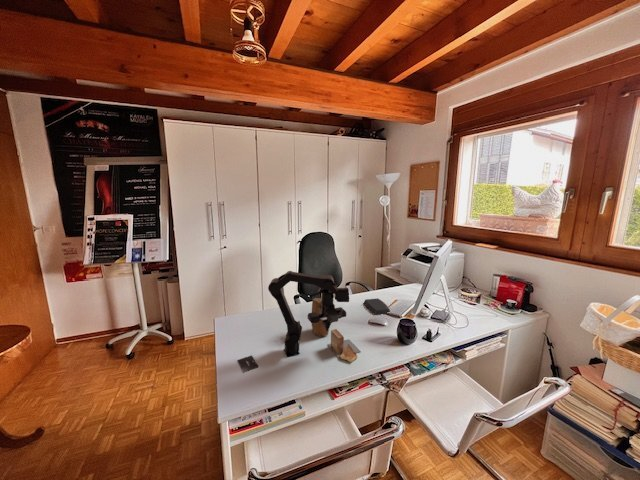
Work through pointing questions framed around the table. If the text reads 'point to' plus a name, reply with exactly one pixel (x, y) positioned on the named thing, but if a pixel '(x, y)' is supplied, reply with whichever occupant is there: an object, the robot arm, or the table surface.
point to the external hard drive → (376, 306)
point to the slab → (337, 341)
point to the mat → (345, 347)
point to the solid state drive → (247, 363)
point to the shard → (348, 354)
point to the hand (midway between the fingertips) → (326, 330)
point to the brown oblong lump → (319, 327)
